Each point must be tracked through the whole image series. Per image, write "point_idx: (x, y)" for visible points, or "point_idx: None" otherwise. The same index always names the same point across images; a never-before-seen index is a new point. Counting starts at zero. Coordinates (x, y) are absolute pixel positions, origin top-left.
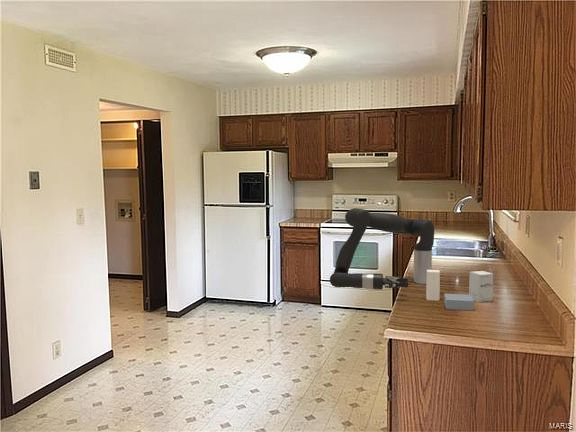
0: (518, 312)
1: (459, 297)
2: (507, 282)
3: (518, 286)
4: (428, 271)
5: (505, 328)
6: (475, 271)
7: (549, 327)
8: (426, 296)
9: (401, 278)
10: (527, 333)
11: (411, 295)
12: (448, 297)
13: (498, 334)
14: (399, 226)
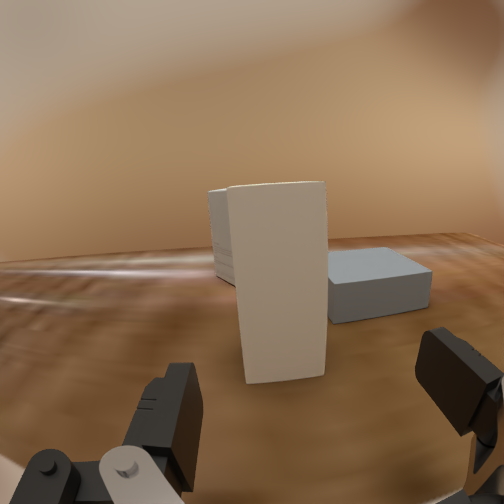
0: (341, 247)
1: (367, 260)
2: (83, 260)
3: (118, 254)
4: (302, 182)
5: (460, 249)
6: (224, 189)
7: (404, 235)
8: (281, 371)
9: (178, 425)
10: (455, 241)
11: (214, 459)
12: (393, 272)
13: (494, 251)
14: None
